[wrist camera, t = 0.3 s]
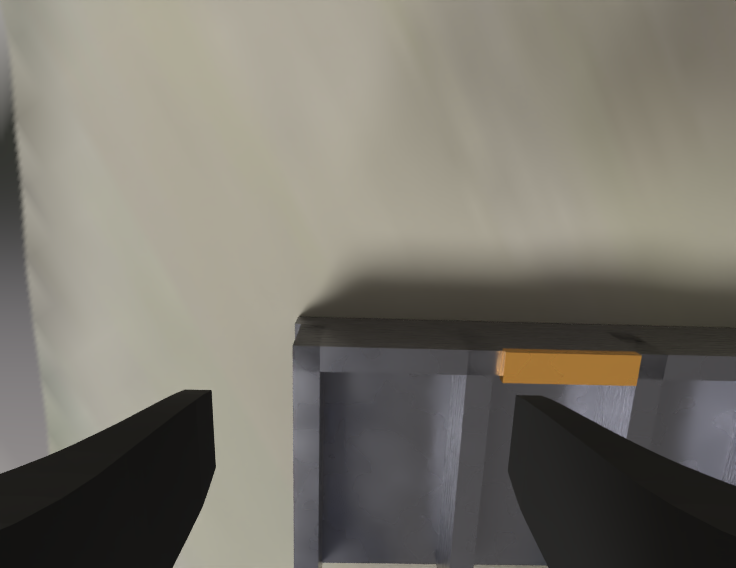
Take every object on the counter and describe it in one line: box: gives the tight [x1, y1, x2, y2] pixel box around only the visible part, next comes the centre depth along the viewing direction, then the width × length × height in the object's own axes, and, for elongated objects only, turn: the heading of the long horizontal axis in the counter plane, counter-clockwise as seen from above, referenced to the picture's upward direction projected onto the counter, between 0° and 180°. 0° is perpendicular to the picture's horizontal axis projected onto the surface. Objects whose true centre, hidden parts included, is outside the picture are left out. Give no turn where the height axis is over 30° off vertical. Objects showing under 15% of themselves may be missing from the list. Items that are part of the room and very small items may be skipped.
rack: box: [293, 317, 736, 568], centre depth 20 cm, size 12×21×4 cm, turn 88°
